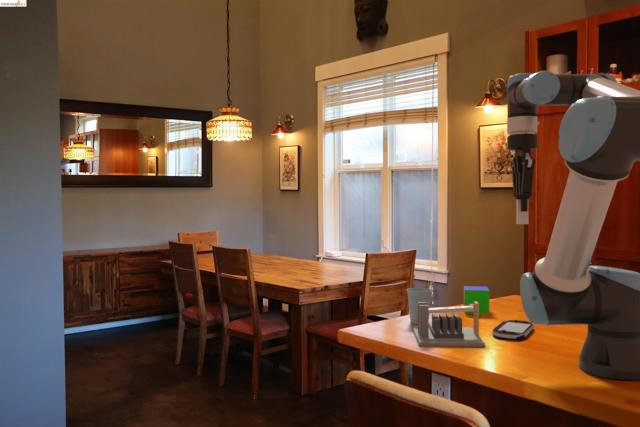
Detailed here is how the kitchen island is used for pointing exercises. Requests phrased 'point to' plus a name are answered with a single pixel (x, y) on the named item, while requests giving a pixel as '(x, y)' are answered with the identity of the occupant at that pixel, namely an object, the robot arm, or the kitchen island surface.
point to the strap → (451, 309)
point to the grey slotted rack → (446, 329)
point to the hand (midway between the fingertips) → (522, 224)
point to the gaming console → (512, 330)
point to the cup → (415, 297)
